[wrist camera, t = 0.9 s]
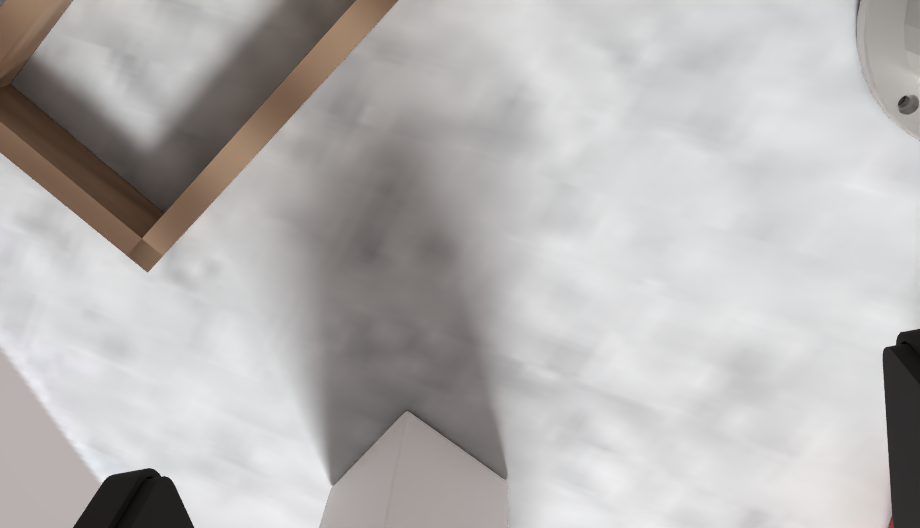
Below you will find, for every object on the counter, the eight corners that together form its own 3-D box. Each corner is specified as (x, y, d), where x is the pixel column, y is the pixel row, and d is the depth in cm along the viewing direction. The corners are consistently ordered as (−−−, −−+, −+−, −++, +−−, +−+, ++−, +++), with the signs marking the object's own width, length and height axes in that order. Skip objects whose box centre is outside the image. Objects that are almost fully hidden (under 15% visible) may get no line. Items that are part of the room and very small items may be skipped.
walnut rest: (275, -326, 33) (253, -344, 30) (487, -97, 36) (485, -95, 33) (-26, 83, 40) (-66, 98, 37) (171, 247, 43) (147, 272, 40)
